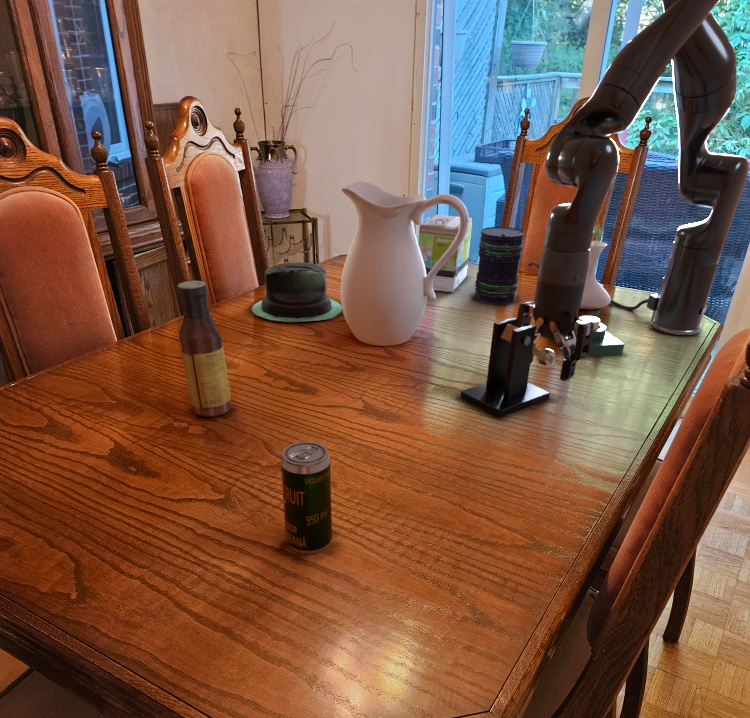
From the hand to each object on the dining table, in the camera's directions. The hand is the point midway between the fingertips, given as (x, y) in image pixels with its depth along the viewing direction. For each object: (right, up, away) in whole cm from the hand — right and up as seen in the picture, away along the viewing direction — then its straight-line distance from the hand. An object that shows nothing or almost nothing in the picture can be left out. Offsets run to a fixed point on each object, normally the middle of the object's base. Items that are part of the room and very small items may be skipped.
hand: (545, 371), depth 115 cm
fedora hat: (-47, +20, +33) cm, 61 cm away
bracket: (-8, -5, -4) cm, 10 cm away
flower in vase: (+18, +22, +39) cm, 48 cm away
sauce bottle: (-56, -8, -9) cm, 57 cm away
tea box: (-13, +32, +52) cm, 63 cm away
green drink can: (-37, -27, -37) cm, 59 cm away
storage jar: (-1, +25, +43) cm, 50 cm away
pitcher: (-25, +10, +19) cm, 33 cm away
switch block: (+12, +9, +18) cm, 23 cm away
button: (+12, +12, +16) cm, 23 cm away
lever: (-5, +1, -5) cm, 7 cm away
